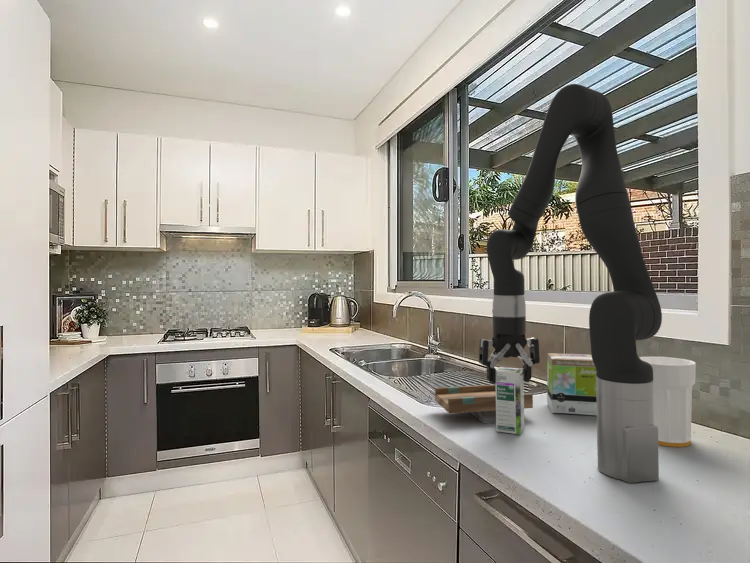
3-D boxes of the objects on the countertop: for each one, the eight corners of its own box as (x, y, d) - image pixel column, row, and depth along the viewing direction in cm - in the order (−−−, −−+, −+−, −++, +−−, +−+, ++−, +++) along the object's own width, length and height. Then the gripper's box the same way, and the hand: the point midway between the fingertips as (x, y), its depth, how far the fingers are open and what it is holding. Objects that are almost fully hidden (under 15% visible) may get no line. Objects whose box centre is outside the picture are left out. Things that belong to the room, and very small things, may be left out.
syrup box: (495, 432, 107) (494, 370, 107) (500, 424, 112) (500, 365, 112) (520, 435, 104) (519, 372, 104) (525, 427, 109) (524, 367, 109)
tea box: (551, 414, 120) (551, 358, 120) (546, 404, 130) (546, 352, 129) (614, 417, 116) (613, 359, 116) (604, 406, 126) (603, 353, 126)
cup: (627, 439, 101) (626, 360, 101) (647, 427, 108) (646, 354, 108) (687, 453, 92) (686, 367, 92) (704, 440, 99) (703, 360, 99)
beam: (533, 419, 115) (532, 388, 115) (449, 425, 112) (449, 393, 112) (511, 406, 127) (510, 378, 127) (435, 411, 124) (434, 382, 124)
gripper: (486, 316, 103) (487, 387, 103) (545, 314, 105) (545, 384, 106) (474, 313, 111) (474, 380, 111) (529, 312, 113) (529, 377, 113)
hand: (509, 382), depth 108 cm, fingers open, 8 cm apart
